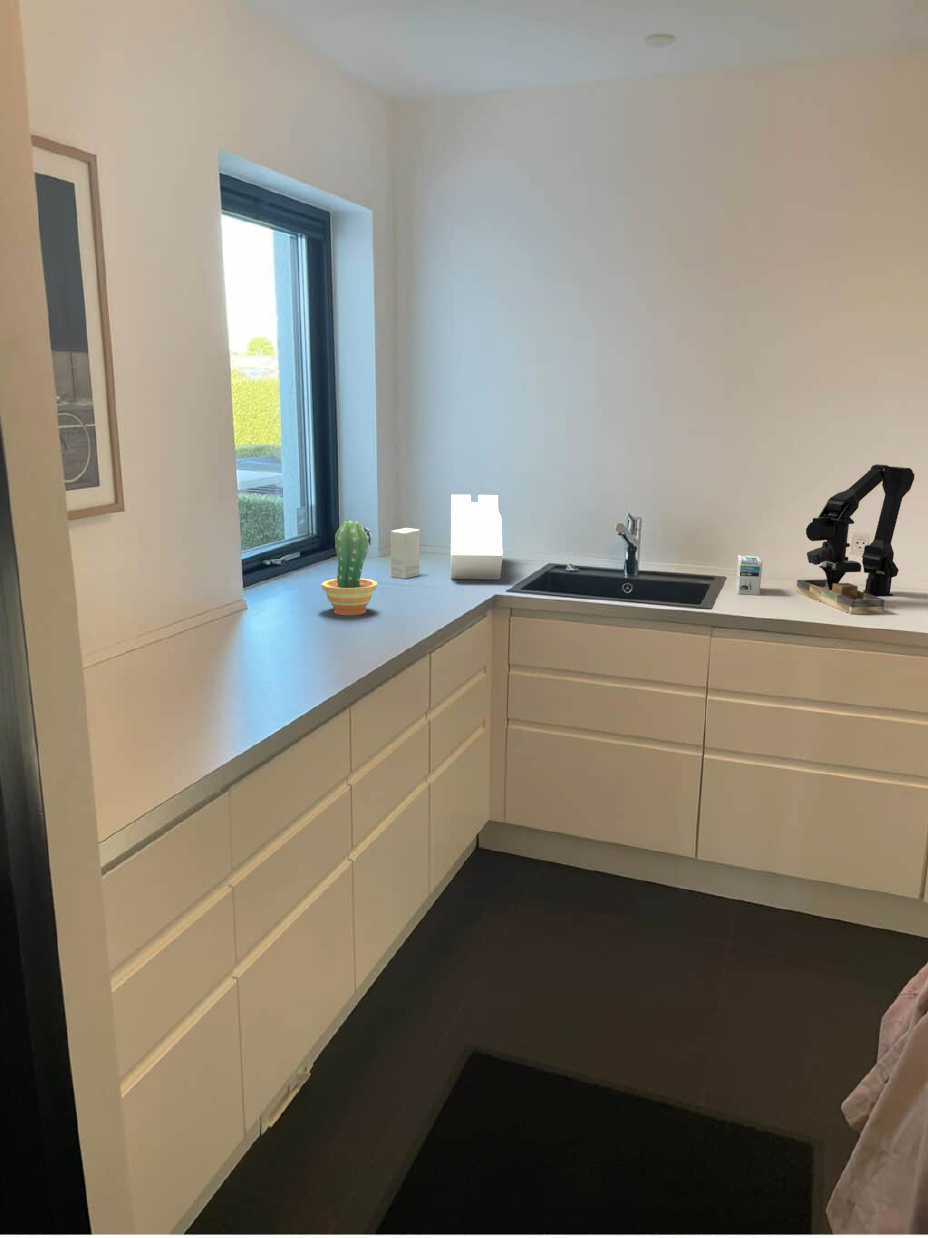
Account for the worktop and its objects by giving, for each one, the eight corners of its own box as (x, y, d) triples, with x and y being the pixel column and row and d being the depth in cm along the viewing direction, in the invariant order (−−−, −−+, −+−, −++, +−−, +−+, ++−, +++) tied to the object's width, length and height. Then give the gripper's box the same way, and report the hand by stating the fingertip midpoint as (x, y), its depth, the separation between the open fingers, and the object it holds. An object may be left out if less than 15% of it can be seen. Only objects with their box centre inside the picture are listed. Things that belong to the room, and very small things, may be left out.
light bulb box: (760, 595, 284) (763, 561, 282) (737, 594, 286) (740, 560, 283) (756, 588, 295) (759, 555, 292) (734, 587, 296) (737, 554, 293)
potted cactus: (383, 616, 250) (382, 524, 244) (326, 619, 246) (324, 526, 240) (372, 604, 265) (371, 517, 259) (318, 606, 260) (316, 518, 254)
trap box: (825, 591, 292) (826, 579, 291) (882, 613, 263) (884, 599, 262) (796, 592, 290) (797, 579, 289) (850, 614, 261) (852, 600, 260)
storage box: (502, 555, 292) (500, 470, 310) (451, 554, 291) (451, 469, 310) (497, 600, 314) (495, 518, 332) (450, 599, 314) (450, 517, 332)
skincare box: (405, 573, 311) (405, 527, 307) (421, 575, 307) (421, 529, 303) (389, 577, 304) (389, 530, 301) (405, 579, 301) (405, 532, 297)
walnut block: (846, 596, 276) (848, 583, 275) (856, 599, 271) (857, 586, 270) (831, 596, 275) (832, 583, 274) (840, 600, 270) (842, 586, 269)
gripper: (795, 535, 283) (790, 584, 287) (830, 544, 265) (824, 597, 269) (828, 534, 285) (823, 583, 289) (865, 543, 267) (859, 596, 271)
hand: (831, 590), depth 279 cm, fingers closed
